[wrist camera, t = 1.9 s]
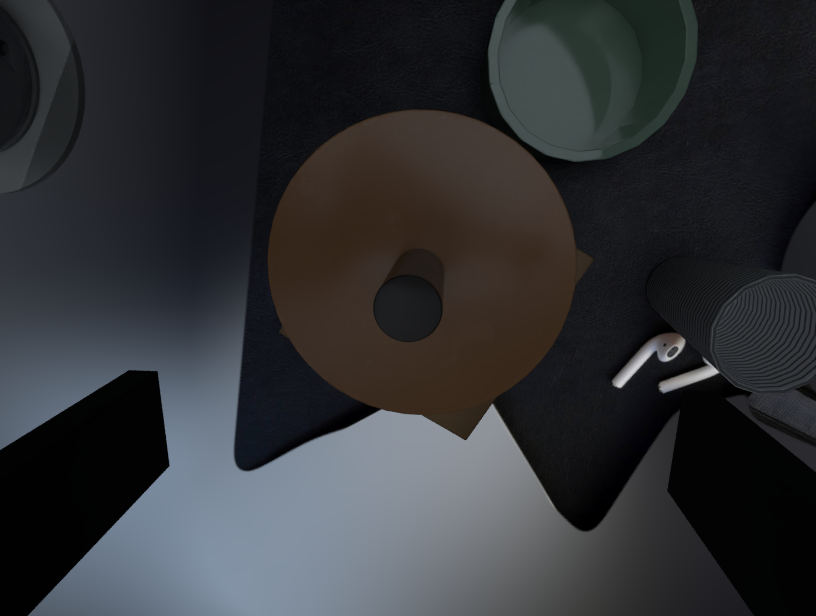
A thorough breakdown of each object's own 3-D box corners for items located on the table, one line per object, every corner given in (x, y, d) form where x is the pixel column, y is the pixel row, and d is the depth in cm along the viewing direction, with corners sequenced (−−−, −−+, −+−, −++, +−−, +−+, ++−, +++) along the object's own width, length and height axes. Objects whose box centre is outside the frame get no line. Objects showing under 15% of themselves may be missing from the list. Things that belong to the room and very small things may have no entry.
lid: (218, 303, 27) (134, 350, 20) (379, 40, 24) (347, -21, 16) (451, 461, 29) (452, 559, 21) (641, 236, 25) (721, 262, 17)
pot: (450, 110, 46) (450, 95, 38) (541, -50, 43) (565, -107, 34) (583, 193, 47) (613, 197, 39) (684, 44, 44) (742, 11, 35)
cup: (624, 256, 49) (702, 292, 34) (717, 232, 47) (841, 259, 32) (639, 338, 50) (719, 407, 35) (729, 317, 49) (851, 379, 34)
